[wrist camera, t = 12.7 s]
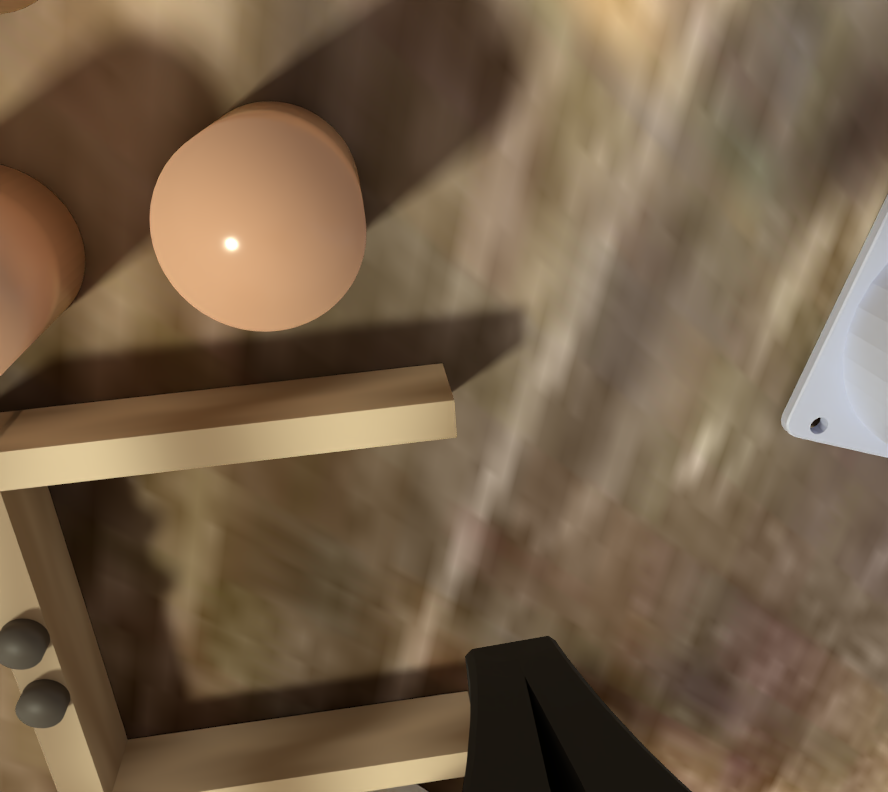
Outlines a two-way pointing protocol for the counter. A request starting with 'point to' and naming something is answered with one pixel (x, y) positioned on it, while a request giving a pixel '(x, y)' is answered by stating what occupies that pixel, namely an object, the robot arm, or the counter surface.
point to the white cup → (402, 789)
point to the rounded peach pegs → (206, 226)
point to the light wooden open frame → (68, 624)
